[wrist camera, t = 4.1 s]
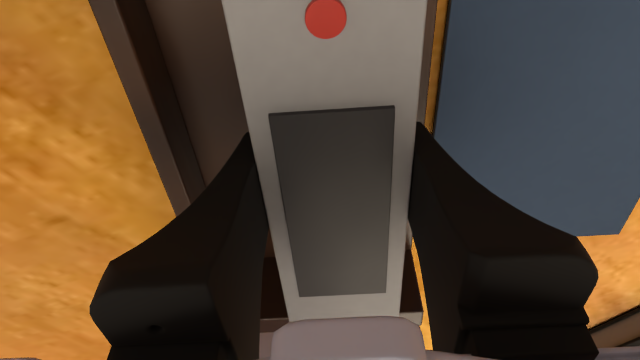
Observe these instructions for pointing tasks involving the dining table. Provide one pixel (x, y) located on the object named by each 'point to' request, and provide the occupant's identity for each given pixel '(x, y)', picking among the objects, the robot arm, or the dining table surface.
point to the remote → (332, 142)
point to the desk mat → (546, 106)
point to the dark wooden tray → (207, 110)
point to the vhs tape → (619, 331)
